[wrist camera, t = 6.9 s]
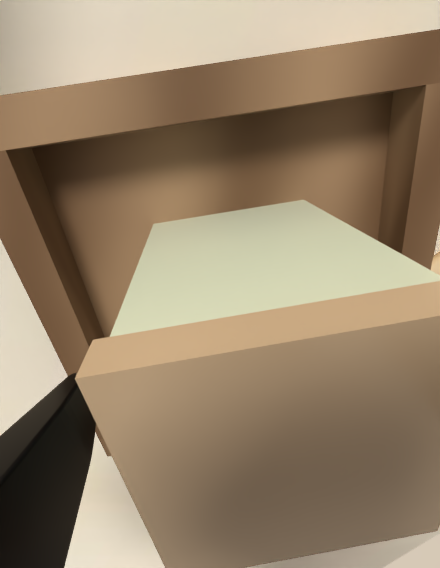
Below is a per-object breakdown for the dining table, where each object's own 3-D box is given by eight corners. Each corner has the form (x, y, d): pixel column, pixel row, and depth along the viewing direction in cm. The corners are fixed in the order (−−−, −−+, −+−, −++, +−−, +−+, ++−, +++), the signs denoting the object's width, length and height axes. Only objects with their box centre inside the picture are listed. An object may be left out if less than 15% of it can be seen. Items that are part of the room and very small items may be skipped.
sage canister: (307, 194, 11) (521, 301, 4) (308, 326, 13) (437, 530, 7) (148, 220, 11) (74, 378, 4) (180, 348, 13) (172, 580, 6)
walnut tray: (422, 44, 10) (479, 23, 8) (379, 371, 16) (404, 403, 14) (-15, 111, 9) (-65, 105, 7) (117, 418, 16) (107, 456, 14)
